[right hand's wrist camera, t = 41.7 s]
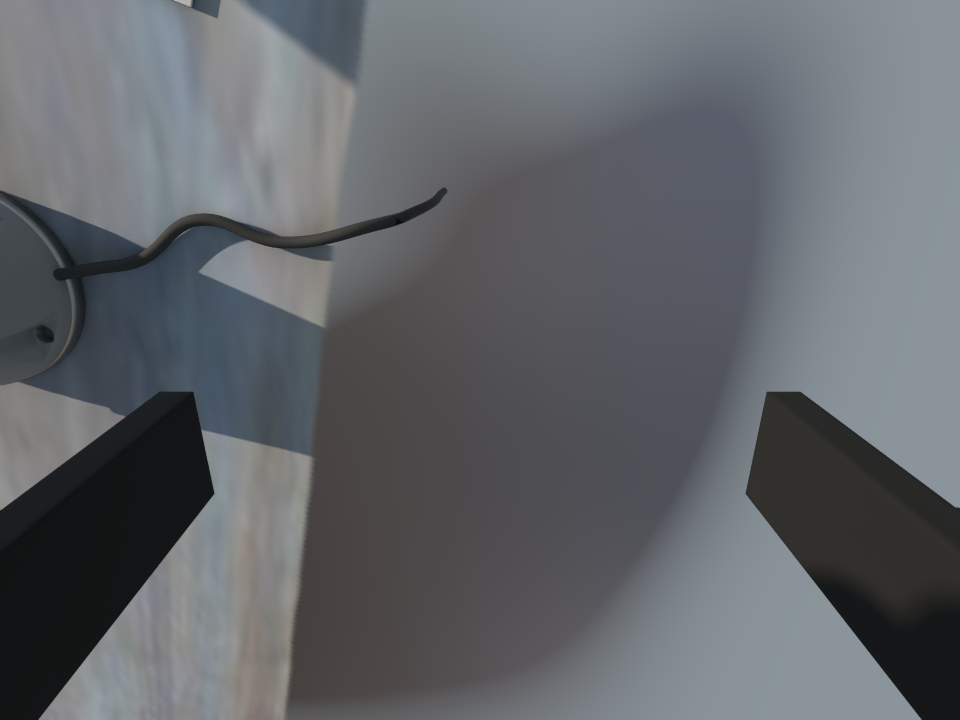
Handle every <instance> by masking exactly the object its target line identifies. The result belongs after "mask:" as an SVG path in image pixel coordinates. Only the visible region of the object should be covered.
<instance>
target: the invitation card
mask: <svg viewBox="0 0 960 720" xmlns="http://www.w3.org/2000/svg"><path fill="white" fill-rule="evenodd" d="M174 1H176V2H179V3H181V4H184V5H186V6H189V7H191V8H192V4H193V0H174Z"/></svg>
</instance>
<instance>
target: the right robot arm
mask: <svg viewBox="0 0 960 720" xmlns="http://www.w3.org/2000/svg"><path fill="white" fill-rule="evenodd" d="M446 193H447V189H446V188H444V187H443V188H442V189H440V190H439V191H438V192H437V193H436V194H435V195H434V196H433V197H432V198H431V199H429V200H427V201H425V202H423V203H421V204H419V205H416V206H414V207H411V208H409V209H407V210H404V211H402V212H399V213H396V214H392V215H388V216H384V217H380V218H376V219H372V220H368V221H364V222H360V223H356V224H353V225H350V226H346V227H343V228H339V229H336V230H332V231H328V232H324V233H319V234H314V235H307V236H297V237H279V236H271V235H267V234H264V233H261V232H258V231H256V230H253V229H251V228H249V227H247V226H245V225H242V224H240V223H238V222H236V221H233V220H231V219H228V218H226V217H223V216H219V215H214V214H194V215H189V216H186V217H183V218H181V219H179V220H177V221H176V222H174V223H173V224H172V225H170V226H169V227H168V228H167V229H166V230H165V231H164V232H163V233H162V234H161V235H160V237H159V238H158V239H157V240H156V241H155V242H154V243H153V244H152V245H151V246H149V247H148V248H147V249H146V250H144V251H142V252H141V253H139V254H137V255H134V256H132V257H129V258H125V259H119V260H111V261H102V262H95V263H89V264H83V265H77V266H74V265H73V263H72V261H71V259H70V257H69V255H68V254H67V252H66V250H65V249H64V247H63V246H62V244H61V243H60V242H59V240H58V239H57V238H56V236H55V235H54V234H53V233H52V232H51V231H50V229H49V228H48V227H47V226H46V225H45V224H44V223H43V222H42V221H41V220H40V219H39V218H37V217H36V216H35V215H34V214H33V213H32V212H30V211H29V210H28V209H26V208H25V207H24V206H22V205H21V204H19V203H18V202H16V201H15V200H13V199H11V198H9V197H8V196H6V195H4V194H2V193H0V385H5V384H10V383H14V382H18V381H21V380H24V379H27V378H30V377H33V376H35V375H37V374H39V373H41V372H43V371H45V370H47V369H49V368H51V367H53V366H54V365H56V364H57V363H59V362H60V361H61V360H63V359H64V358H65V357H66V356H67V355H68V354H69V352H70V351H71V350H72V348H73V347H74V346H75V344H76V342H77V340H78V338H79V335H80V332H81V329H82V325H83V319H84V299H83V292H82V287H81V284H80V280H79V277H85V276H90V275H96V274H102V273H110V272H119V271H125V270H130V269H134V268H137V267H140V266H142V265H145V264H147V263H149V262H150V261H152V260H154V259H155V258H156V257H157V256H159V255H160V254H161V253H162V252H163V251H164V250H165V249H166V248H167V247H168V246H169V245H170V244H171V243H172V242H173V241H174V240H175V239H176V238H177V237H178V236H179V235H180V234H181V233H183V232H184V231H186V230H188V229H190V228H193V227H197V226H215V227H220V228H223V229H226V230H228V231H231V232H233V233H235V234H237V235H239V236H242V237H244V238H246V239H248V240H251V241H253V242H256V243H258V244H262V245H265V246H269V247H275V248H307V247H315V246H321V245H326V244H330V243H334V242H338V241H342V240H345V239H349V238H352V237H356V236H359V235H363V234H366V233H370V232H374V231H378V230H382V229H386V228H389V227H393V226H397V225H400V224H402V223H405V222H407V221H409V220H411V219H413V218H415V217H417V216H419V215H421V214H423V213H425V212H427V211H429V210H430V209H432V208H434V207H435V206H436V205H438V204H439V203H440V201H441V200H442V198H443V197H444V195H445V194H446ZM213 495H214V490H213V485H212V480H211V475H210V470H209V466H208V461H207V456H206V451H205V446H204V441H203V437H202V432H201V427H200V422H199V417H198V413H197V408H196V403H195V398H194V393H193V392H159V393H157V394H156V395H155V396H153V397H152V398H151V399H149V400H148V401H147V402H145V403H144V404H143V405H141V406H140V407H139V408H137V409H136V410H135V411H133V412H132V413H131V414H129V415H128V416H127V417H125V418H124V419H123V420H121V421H120V422H119V423H117V424H116V425H115V426H113V427H112V428H111V429H109V430H108V431H106V432H105V433H104V434H102V435H101V436H100V437H98V438H97V439H96V440H94V441H93V442H92V443H90V444H89V445H88V446H86V447H85V448H84V449H82V450H81V451H80V452H78V453H77V454H76V455H74V456H73V457H72V458H70V459H69V460H68V461H66V462H65V463H64V464H62V465H61V466H60V467H58V468H57V469H56V470H54V471H53V472H52V473H50V474H49V475H48V476H46V477H45V478H43V479H42V480H41V481H39V482H38V483H37V484H35V485H34V486H33V487H31V488H30V489H29V490H27V491H26V492H25V493H23V494H22V495H21V496H19V497H18V498H17V499H15V500H14V501H13V502H11V503H10V504H9V505H7V506H6V507H5V508H3V509H2V510H0V720H38V719H39V718H40V717H41V715H42V714H43V713H44V712H45V710H46V709H47V708H48V706H49V705H50V704H51V703H52V701H53V700H54V699H55V697H56V696H57V695H58V694H59V692H60V691H61V690H62V689H63V687H64V686H65V685H66V683H67V682H68V681H69V680H70V678H71V677H72V676H73V674H74V673H75V672H76V671H77V669H78V668H79V667H80V665H81V664H82V663H83V662H84V660H85V659H86V658H87V656H88V655H89V654H90V653H91V651H92V650H93V649H94V647H95V646H96V645H97V644H98V642H99V641H100V640H101V638H102V637H103V636H104V635H105V633H106V632H107V631H108V629H109V628H110V627H111V626H112V624H113V623H114V622H115V621H116V619H117V618H118V617H119V615H120V614H121V613H122V612H123V610H124V609H125V608H126V606H127V605H128V604H129V603H130V601H131V600H132V599H133V597H134V596H135V595H136V594H137V592H138V591H139V590H140V588H141V587H142V586H143V585H144V583H145V582H146V581H147V579H148V578H149V577H150V576H151V574H152V573H153V572H154V570H155V569H156V568H157V567H158V565H159V564H160V563H161V561H162V560H163V559H164V558H165V556H166V555H167V554H168V552H169V551H170V550H171V549H172V547H173V546H174V545H175V544H176V542H177V541H178V540H179V538H180V537H181V536H182V535H183V533H184V532H185V531H186V529H187V528H188V527H189V526H190V524H191V523H192V522H193V520H194V519H195V518H196V517H197V515H198V514H199V513H200V511H201V510H202V509H203V508H204V506H205V505H206V504H207V502H208V501H209V500H210V499H211V497H212V496H213ZM746 495H747V496H748V497H749V499H750V500H751V501H752V502H753V504H754V505H755V506H756V508H757V509H758V510H759V511H760V513H761V514H762V515H763V517H764V518H765V519H766V520H767V522H768V523H769V524H770V526H771V527H772V528H773V529H774V531H775V532H776V533H777V534H778V536H779V537H780V538H781V540H782V541H783V542H784V544H785V545H786V546H787V547H788V549H789V550H790V551H791V552H792V554H793V555H794V556H795V558H796V559H797V560H798V561H799V563H800V564H801V565H802V567H803V568H804V569H805V570H806V572H807V573H808V574H809V576H810V577H811V578H812V579H813V581H814V582H815V583H816V585H817V586H818V587H819V588H820V590H821V591H822V592H823V594H824V595H825V596H826V597H827V599H828V600H829V601H830V603H831V604H832V605H833V606H834V608H835V609H836V610H837V612H838V613H839V614H840V615H841V617H842V618H843V619H844V621H845V622H846V623H847V624H848V626H849V627H850V628H851V629H852V631H853V632H854V633H855V635H856V636H857V637H858V638H859V640H860V641H861V642H862V644H863V645H864V646H865V647H866V649H867V650H868V651H869V653H870V654H871V655H872V656H873V658H874V659H875V660H876V662H877V663H878V664H879V665H880V667H881V668H882V669H883V671H884V672H885V673H886V674H887V676H888V677H889V678H890V679H891V681H892V682H893V683H894V685H895V686H896V687H897V689H898V690H899V691H900V692H901V694H902V695H903V696H904V697H905V699H906V700H907V701H908V703H909V704H910V705H911V706H912V708H913V709H914V710H915V712H916V713H917V714H918V715H919V717H920V718H921V719H922V720H960V508H955V507H954V506H953V505H951V504H950V503H949V502H947V501H946V500H945V499H943V498H942V497H941V496H939V495H938V494H937V493H935V492H934V491H933V490H931V489H930V488H929V487H927V486H926V485H925V484H923V483H922V482H921V481H919V480H918V479H917V478H915V477H914V476H912V475H911V474H910V473H908V472H907V471H906V470H904V469H903V468H902V467H900V466H899V465H898V464H896V463H895V462H894V461H892V460H891V459H890V458H888V457H887V456H886V455H884V454H883V453H882V452H880V451H879V450H878V449H876V448H875V447H874V446H872V445H871V444H870V443H868V442H867V441H866V440H864V439H863V438H861V437H860V436H859V435H858V434H856V433H855V432H854V431H852V430H851V429H849V428H848V427H847V426H845V425H844V424H843V423H841V422H840V421H839V420H837V419H836V418H835V417H833V416H832V415H831V414H829V413H828V412H827V411H825V410H824V409H823V408H821V407H820V406H819V405H817V404H816V403H815V402H813V401H812V400H811V399H809V398H808V397H807V396H805V395H804V394H802V393H801V392H767V394H766V398H765V403H764V408H763V413H762V417H761V422H760V427H759V432H758V437H757V441H756V446H755V451H754V456H753V461H752V466H751V470H750V475H749V480H748V485H747V490H746Z"/></svg>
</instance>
